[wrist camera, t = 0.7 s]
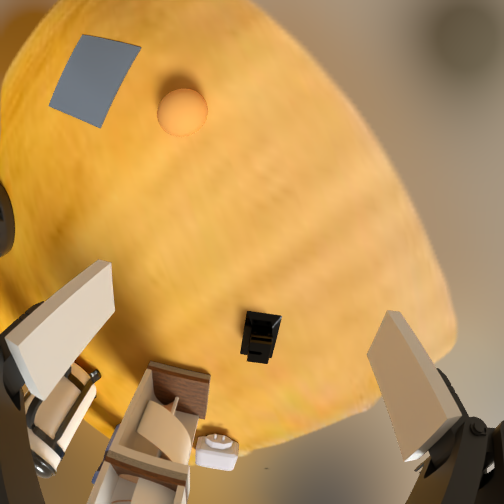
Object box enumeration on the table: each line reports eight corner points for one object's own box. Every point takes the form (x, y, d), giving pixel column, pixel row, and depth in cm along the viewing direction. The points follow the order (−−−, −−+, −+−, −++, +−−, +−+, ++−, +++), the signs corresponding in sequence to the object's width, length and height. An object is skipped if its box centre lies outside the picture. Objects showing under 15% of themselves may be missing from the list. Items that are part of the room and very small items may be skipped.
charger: (243, 429, 49) (234, 456, 54) (199, 421, 49) (198, 450, 54) (241, 447, 44) (233, 471, 50) (195, 439, 44) (194, 465, 49)
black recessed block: (241, 294, 37) (238, 312, 33) (294, 301, 37) (297, 320, 33) (232, 359, 42) (228, 379, 37) (277, 365, 42) (277, 385, 37)
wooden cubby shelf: (206, 411, 47) (172, 572, 14) (154, 398, 46) (100, 548, 14) (210, 375, 42) (166, 575, 10) (150, 360, 42) (73, 540, 10)
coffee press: (121, 399, 48) (71, 510, 20) (72, 390, 50) (20, 479, 22) (84, 336, 42) (-2, 455, 14) (37, 334, 44) (-38, 422, 16)
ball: (159, 126, 29) (140, 123, 24) (180, 87, 27) (165, 76, 22) (198, 145, 30) (184, 144, 25) (220, 104, 28) (211, 95, 23)
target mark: (49, 106, 28) (48, 106, 28) (83, 35, 24) (82, 34, 24) (100, 128, 29) (99, 128, 29) (141, 47, 25) (140, 47, 25)
